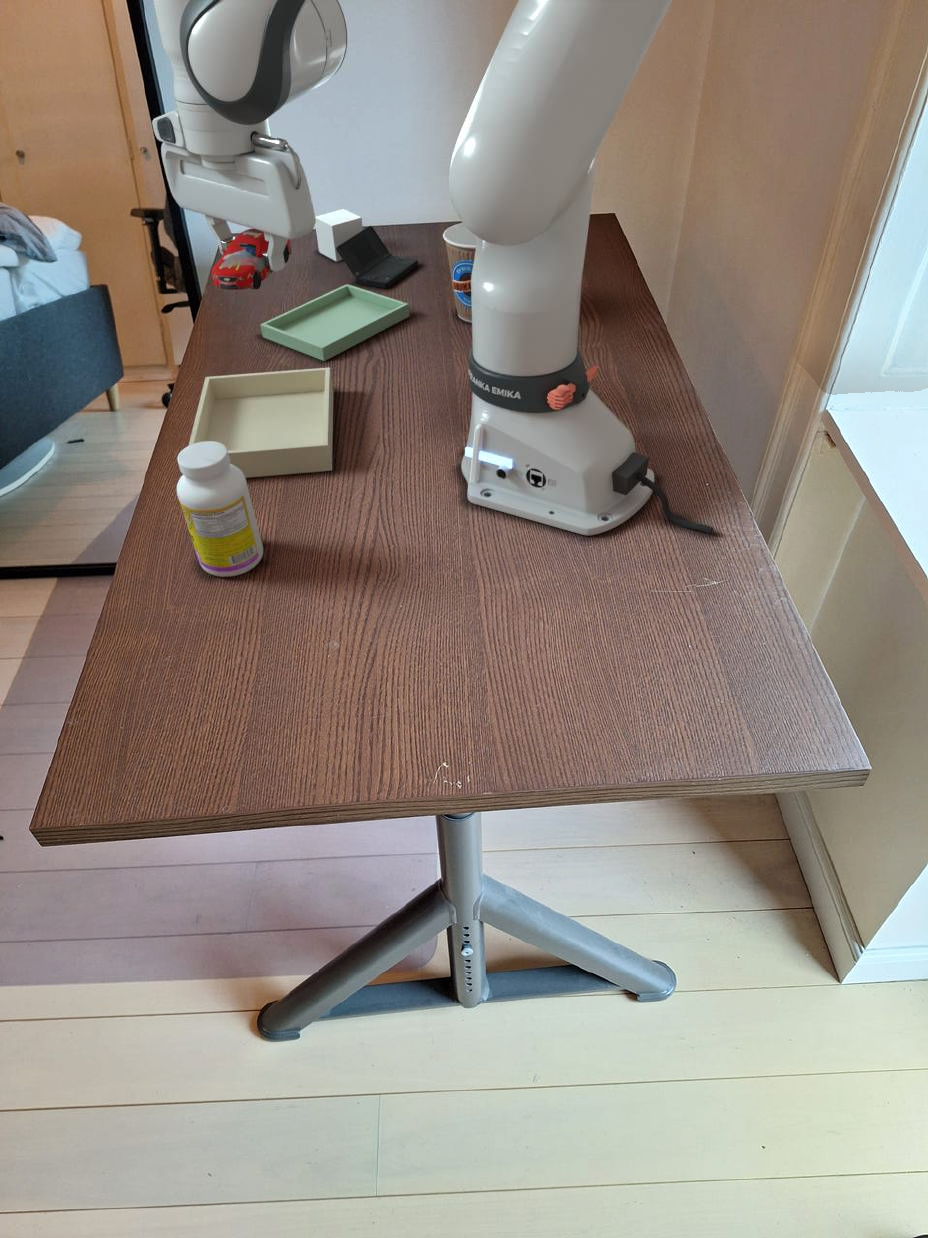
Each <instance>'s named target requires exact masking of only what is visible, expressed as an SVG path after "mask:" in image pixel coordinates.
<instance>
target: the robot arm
mask: <svg viewBox="0 0 928 1238" xmlns="http://www.w3.org/2000/svg"><path fill="white" fill-rule="evenodd" d="M152 1H153V7H154V10H155V16H156V21H157V26H158V31H159V36H160V39H161V40H160V41H161V44H162V47H163V50H164V52H165V54H166V56H167V58H168V61H169V63H170V66H171V69H172V73H173V96H174V100H175V105H176V109H174V110H172V111H169V112H167V113H164V114H162V115H159V116H157V117H154V118H153V120H152V121H151V123H152V128H153V132H154V133H153V134H154V135H155V137H156V139H157V140H158V141H159V142H162V143H161V147H160V151H161V152H160V154H161V159H162V164H163V167H164V172H165V176H166V180H167V183H168V187H169V190H170V193H171V195H172V197H173V199H174V200H175V202H176V204H178V206H179V207H180V208H181V209H184V210H188V211H190V212H193V213H198V214H201V215H204V217H205V221H206V224H207V226H208V228H209V229H210V231H211V232H212V234H213V236H214V238H215V239H216V241H217V243H218V248H219V252H220V255H222V256H223V255H224V254H225V253H224V252H222V251H221V250H222V249H226V250H227V248H228V246H229V245H230V243H231V242H232V241H233V240H234V239H235V238H236V237H235V236H234V235H233V233H232V230H231V227H230V226H229V224H228V222H229V223H232V224H236V225H239V226H243V227H247V228H248V229H256V230H260V231H263V232H264V236H265V240H266V241H269V246H268V252H266V253H264V254H262V255H263V260H264V262H265V263H264V266H265V268H266V269H269V270H272V271H273V272H275V273H277V272H280V271H281V270H283V269H285V267H286V263H285V261H284V256H283V252H284V249H285V246H286V242H287V239H289V240H295V239H298V238H300V237H304V236H305V235H307V234H310V233H312V231H313V230H314V228H315V223H316V218H315V216H316V212H315V208H314V201H313V198H312V195H311V189H310V185H309V181H308V177H307V175H306V172H305V169H304V166H303V164H302V162H301V159H300V156H299V154H298V153H297V152H296V151H295V149H294V148H293V147H292V146H291V145H290V144H289V141H288V140H287V139H286V138H283V137H279V136H275V137H274V136H272V135H271V129H270V124H269V118H271V116H273V115H274V114H275V113H276V112H278V111H279V110H280V109H281V108H283V107H284V106H285V105H288V104H289V103H291V102H293V101H296V100H297V99H300V98H301V97H303V96H305V95H307V94H308V93H310V92H311V91H313V90H314V89H317V88H318V87H320V86H322V85H323V84H325V83H327V82H328V81H329V80H330V79H331V78H332V77H334V76H335V75H336V74H337V73H338V71H339V70H340V69H341V67H342V65H343V63H344V60H345V58H346V53H347V48H348V29H347V28H348V27H347V23H346V18H345V15H344V12H343V9H342V6H341V4H340V2H339V0H152ZM673 1H674V0H517V3H516V5H515V6H514V9H513V11H512V12H511V13H512V14H511V15H510V17H509V20H508V21H507V23H506V26H505V28H504V30H503V33H502V35H501V38H500V39H499V42H498V44H497V46H496V48H495V50H494V52H493V55H492V58H491V60H490V62H489V64H488V66H487V68H486V71H485V73H484V76H483V78H482V79H481V82H480V84H479V87H478V89H477V92H476V94H475V97H474V98H473V101H472V103H471V106H470V108H469V111H468V113H467V115H466V116H465V117H466V118H465V120H464V122H463V124H462V127H461V129H460V132H459V135H458V137H457V138H456V139H457V140H456V142H455V146H454V149H453V152H452V155H451V156H452V157H451V161H450V167H449V175H448V176H449V177H448V188H449V195H450V199H451V203H452V206H453V209H454V211H455V213H456V215H457V216H458V218H459V219H460V221H461V223H463V224H464V225H465V226H466V227H467V228H468V229H469V230H470V231H471V232H472V233H473V234H474V235H476V236H477V242H476V250H475V258H474V264H473V269H472V275H471V304H472V323H471V335H472V338H471V339H472V343H471V344H472V346H471V348H470V350H469V352H468V385H469V388H470V390H471V392H472V396H471V397H472V399H471V412H470V413H471V414H470V422H469V431H468V436H467V440H466V441H467V442H466V447H465V448H464V454H463V456H462V458H461V459H462V460H461V465H460V466H461V472H462V476H463V477H464V479H465V481H466V482H467V491H466V492H467V493H466V497H467V500H468V502H469V503H471V504H474V505H477V506H481V507H484V508H487V509H491V510H494V511H499V512H501V513H505V514H508V515H513V516H516V517H519V518H522V519H526V520H529V521H532V522H533V521H534V522H537V523H540V524H544V525H547V526H551V527H554V528H558V529H560V530H565V531H568V532H572V533H575V534H579V535H581V536H582V535H583V536H588V537H589V536H594V535H599V534H602V533H605V532H608V531H611V530H612V529H614V528H617V527H618V526H621V524H624V523H625V522H626V521H628V520H629V519H631V517H633V516H635V514H636V513H637V512H639V511H640V510H641V509H642V507H644V506H645V504H646V503H647V502H648V500H649V499H650V498H651V496H652V494H653V492H654V494H655V495H656V496H657V497H658V498H659V500H660V503H661V508H662V513H663V514H664V516H665V517H666V518H667V519H668V520H669V521H670V522H672V523H673V524H675V525H677V526H679V527H682V528H684V529H689V530H693V531H697V532H703V533H707V534H709V535H711V534H712V532H713V531H714V527H713V526H710V525H707V524H702V523H697V522H692V521H689V520H688V521H687V520H684V519H682V518H680V517H678V516H677V515H675V514H674V513H673V512H672V510H671V508H670V503H669V500H668V497H667V495H666V493H665V491H664V490H662V488H661V487H660V486H658V485H657V483H655V472H654V471H653V470H652V469H650V468H649V463H650V456H647V455H644V454H641V453H638V452H637V451H636V443H635V438H634V436H633V433H632V431H631V430H630V429H629V428H628V427H627V426H626V425H625V424H624V423H623V422H622V421H621V420H620V419H619V418H618V417H617V416H616V414H615V413H614V412H613V411H612V410H611V409H610V408H609V407H608V406H607V405H606V404H605V403H604V402H603V401H602V400H601V398H600V397H599V396H598V395H597V394H596V393H595V392H594V391H593V390H592V389H591V387H590V386H591V385H590V381H592V380H593V379H594V378H596V376H597V375H599V372H598V368H599V366H600V365H599V364H595V365H594V366H592V367H591V368H589V369H588V370H586V366H585V362H584V360H583V356H582V354H581V350H580V348H579V346H578V345H579V331H580V329H579V328H580V314H581V313H580V312H581V298H582V285H583V274H584V273H583V272H584V265H585V257H586V252H587V251H586V250H587V243H588V234H589V225H590V217H591V209H592V201H593V192H594V182H595V173H596V164H597V163H596V162H597V153H598V151H599V149H600V147H601V145H602V143H603V141H604V139H605V137H606V135H607V133H608V131H609V129H610V127H611V125H612V124H613V121H614V119H615V117H616V115H617V113H618V111H619V109H620V107H621V105H622V103H623V101H624V99H625V97H626V95H627V92H628V90H629V89H630V87H631V85H632V83H633V81H634V79H635V76H636V75H637V73H638V71H639V69H640V66H641V65H642V63H643V60H644V59H645V57H646V54H647V52H648V50H649V48H650V46H651V44H652V43H653V41H654V38H655V36H656V34H657V33H658V31H659V30H660V29H659V28H660V27H661V25H662V23H663V21H664V18H665V17H666V15H667V13H668V11H669V9H670V7H671V5H672V3H673Z"/></svg>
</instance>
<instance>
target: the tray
mask: <svg viewBox="0 0 928 1238" xmlns="http://www.w3.org/2000/svg"><path fill="white" fill-rule="evenodd" d="M409 305H410V304H409V303H408V302H403V301H401V300H398V299H395V298H391V297H389V296H385V295H382V294H380V293H376V292H373V291H370V290H367V289H364V288H360V287H358V286H355V285H351V284H348V283H346V284H344V285H342V286H339V287H337V288H335V289H334V290H331V291H329V292H326V293H325V294H323V295H321V296H319V297H316V298H314V299H312V300H309V301H307V302H305V303H303V304H301V305H299V306H297V307H295V308H293V309H290V310H288V311H286V312H284V313H282V314H280V315H278V316H275V317H273V318H271V319H269V320H267V321H265V322H262V323H260V330H261V335H262V338H263V339H266V340H268V341H272V342H274V343H277V344H279V345H282V346H283V347H286V348H290V349H292V350H294V351H297V352H299V353H302V354H304V355H307V356H309V357H313V358H315V359H318V360H320V361H323V362H326V361H328V360H329V359H331V358H334V357H335V356H337V355H339V354H341V353H343V352H344V351H346V350H349V349H350V348H352V347H354V346H356V345H358V344H360V343H362V342H364V341H365V340H367V339H369V338H371V337H373V336H375V335H377V334H379V333H380V332H383V331H384V330H387V329H388V328H390V327H392V326H394V325H396V324H398V323H399V322H402V321H403V320H406V319H407V318H409V317H410V308H409V307H410V306H409Z"/></svg>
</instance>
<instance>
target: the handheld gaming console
mask: <svg viewBox="0 0 928 1238" xmlns="http://www.w3.org/2000/svg"><path fill="white" fill-rule="evenodd" d="M336 250H337V252H338V253H339V255H340V256H341V258H342V259H343V260H342V261H343V262H344V264H345V265H346V266H347V268H348V270H349V271H350V272H351V274H352V275H353V277H354V278H355V283H356V284H358V285H362V286H363V285H364V286H369V287H375V288H380V289H385V290H387V289H388V288H390V287H391V286H393V285H394V284H395V283H396V282H398V281H399V280H401V279H402V278H403V277H405V276H406V275H408V274H409V273H410V272H412V271H413V270H414V269H416V268H417V267H418V266H419V260H418V259H416V258H411V257H404V256H398V255H393V254H392V253H391V252H390V251H389V250H388V247H386V245H385V244H384V241H382V239H381V238H380V235H378V233H377V231H376V230H375V229H374V226H372V225H369V226H367V227H365V228H363V230H362V231H361V232H359V233H358V234H356V235H355V236H353V237H351V238H350V239H348V240H347V241H345V242H344V243H342V244H340V245H339V246H338V247H337V248H336Z"/></svg>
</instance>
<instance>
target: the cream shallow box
mask: <svg viewBox="0 0 928 1238" xmlns="http://www.w3.org/2000/svg"><path fill="white" fill-rule="evenodd" d="M192 426H193V427H192V430H191V434H190V438H189V442H188V446H189V445H192V444H195V443H198V442H204V441H214V442H219V443H221V444H223V445H224V446H225V447H226V448H227V450H228V454H229V457H230V464H232V465H234V466H236V467H237V468H239V469H240V470H241V471H242V473H243V474H244V476H245V478H259V477H271V476H281V475H282V476H284V475H292V474H294V475H295V474H306V473H307V474H308V473H319V472H331V471H333V441H334V440H333V439H334V437H333V436H334V435H333V433H334V385H333V380H332V372H331V368H330V367H319V368H318V367H317V368H305V369H290V370H280V371H279V370H278V371H267V372H253V373H251V372H250V373H239V374H226V375H215V376H214V375H213V376H205V378H204V382H203V385H202V390H201V393H200V398H199V402H198V406H197V410H196V414H195V418H194V422H193V425H192Z"/></svg>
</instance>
